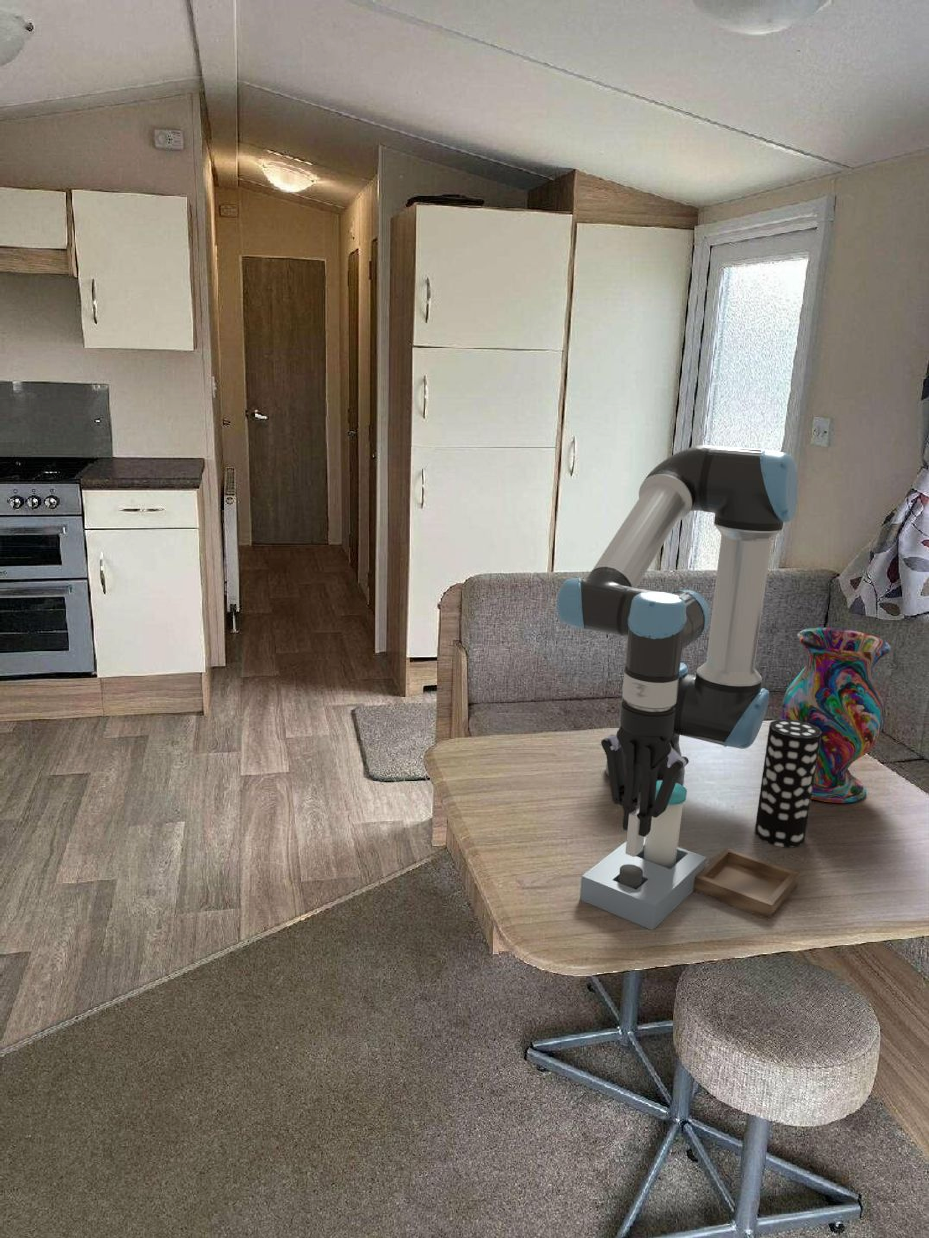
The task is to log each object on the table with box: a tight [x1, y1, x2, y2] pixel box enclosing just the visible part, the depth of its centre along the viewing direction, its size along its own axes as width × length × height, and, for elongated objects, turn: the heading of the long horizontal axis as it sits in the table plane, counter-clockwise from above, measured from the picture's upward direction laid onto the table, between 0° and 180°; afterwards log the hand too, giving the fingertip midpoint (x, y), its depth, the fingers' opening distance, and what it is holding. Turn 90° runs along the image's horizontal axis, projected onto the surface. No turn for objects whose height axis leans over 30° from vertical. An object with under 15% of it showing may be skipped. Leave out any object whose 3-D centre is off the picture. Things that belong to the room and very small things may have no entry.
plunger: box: [618, 864, 643, 890], centre depth 140 cm, size 3×3×4 cm
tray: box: [693, 846, 800, 920], centre depth 146 cm, size 12×12×2 cm
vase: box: [780, 627, 891, 804], centre depth 181 cm, size 18×18×30 cm
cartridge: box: [643, 781, 688, 869], centre depth 147 cm, size 6×6×15 cm
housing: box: [579, 836, 708, 931], centre depth 144 cm, size 12×18×4 cm, turn 143°
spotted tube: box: [754, 718, 821, 848], centre depth 161 cm, size 8×8×20 cm
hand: (634, 851), depth 139 cm, fingers closed
